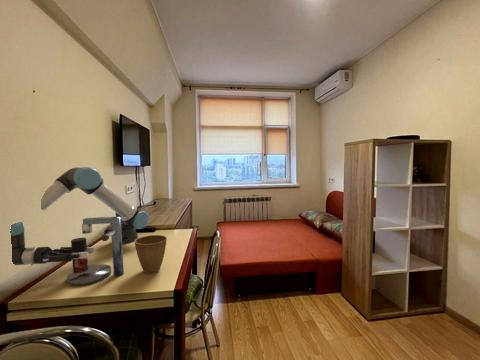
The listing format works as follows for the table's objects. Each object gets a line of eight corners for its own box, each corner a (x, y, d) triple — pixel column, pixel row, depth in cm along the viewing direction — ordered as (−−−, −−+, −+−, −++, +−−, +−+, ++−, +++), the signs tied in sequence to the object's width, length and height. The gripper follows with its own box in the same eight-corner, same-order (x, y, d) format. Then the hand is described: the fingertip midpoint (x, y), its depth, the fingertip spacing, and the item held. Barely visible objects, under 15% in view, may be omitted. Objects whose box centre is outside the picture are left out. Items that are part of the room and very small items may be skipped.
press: (58, 280, 110) (54, 221, 108) (98, 265, 126) (95, 213, 125) (94, 295, 97) (90, 227, 95) (134, 275, 113) (131, 218, 111)
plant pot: (149, 280, 109) (147, 246, 108) (129, 273, 117) (128, 241, 115) (174, 267, 121) (173, 237, 120) (155, 262, 129) (153, 233, 128)
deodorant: (89, 266, 117) (87, 236, 116) (86, 271, 111) (84, 240, 110) (74, 269, 114) (72, 238, 113) (71, 274, 109) (69, 242, 108)
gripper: (52, 255, 120) (101, 252, 122) (22, 272, 101) (81, 268, 104) (51, 240, 119) (100, 238, 122) (21, 255, 100) (79, 251, 103)
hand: (91, 252), depth 113 cm, fingers closed on deodorant, 6 cm apart
